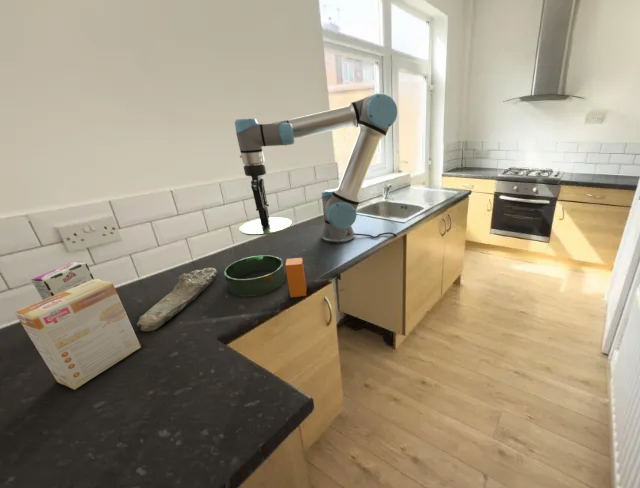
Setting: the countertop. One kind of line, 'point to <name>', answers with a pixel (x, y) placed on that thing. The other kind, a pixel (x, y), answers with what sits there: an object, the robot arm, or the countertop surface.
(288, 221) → the tin lid
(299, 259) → the snack box
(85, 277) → the candy bar box
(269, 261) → the tin
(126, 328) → the coffeecake box
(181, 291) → the elongated rock
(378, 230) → the countertop surface
